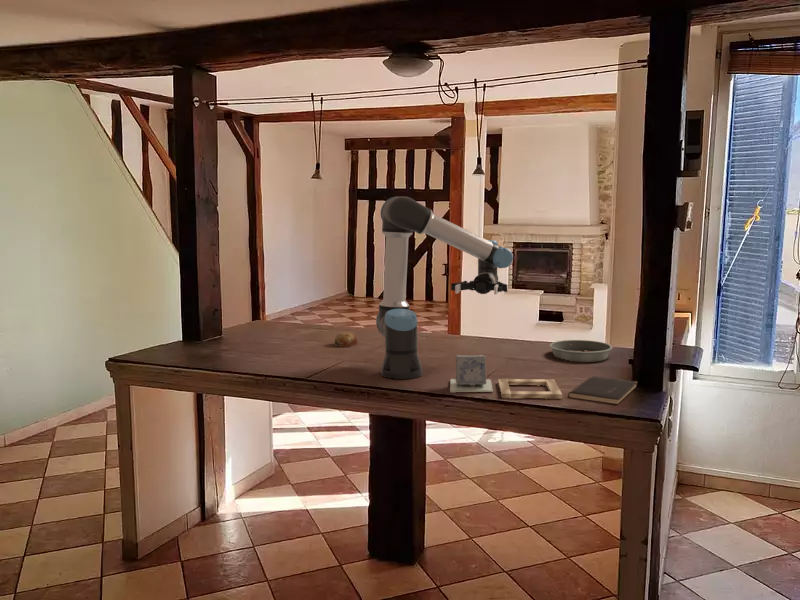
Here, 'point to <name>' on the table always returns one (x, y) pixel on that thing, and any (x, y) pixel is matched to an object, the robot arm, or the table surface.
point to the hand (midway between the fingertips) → (475, 290)
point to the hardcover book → (603, 389)
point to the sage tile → (467, 388)
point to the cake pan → (598, 349)
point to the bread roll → (345, 339)
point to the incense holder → (470, 369)
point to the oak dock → (550, 383)
